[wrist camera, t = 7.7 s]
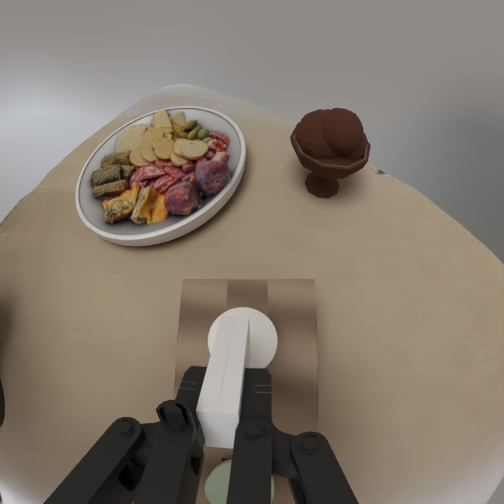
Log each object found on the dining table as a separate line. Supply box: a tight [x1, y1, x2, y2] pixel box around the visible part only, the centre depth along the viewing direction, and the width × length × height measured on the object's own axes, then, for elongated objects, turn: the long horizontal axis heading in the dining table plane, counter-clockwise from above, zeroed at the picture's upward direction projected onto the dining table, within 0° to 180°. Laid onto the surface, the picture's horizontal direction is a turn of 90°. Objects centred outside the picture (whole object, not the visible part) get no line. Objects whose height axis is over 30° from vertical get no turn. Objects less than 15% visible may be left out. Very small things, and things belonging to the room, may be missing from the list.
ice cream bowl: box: [290, 108, 371, 198], centre depth 35 cm, size 11×11×15 cm
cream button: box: [208, 307, 278, 368], centre depth 22 cm, size 5×5×6 cm
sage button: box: [205, 458, 274, 504], centre depth 16 cm, size 5×5×6 cm
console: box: [174, 279, 318, 504], centre depth 21 cm, size 36×12×10 cm, turn 179°
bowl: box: [75, 106, 246, 246], centre depth 41 cm, size 30×30×8 cm
